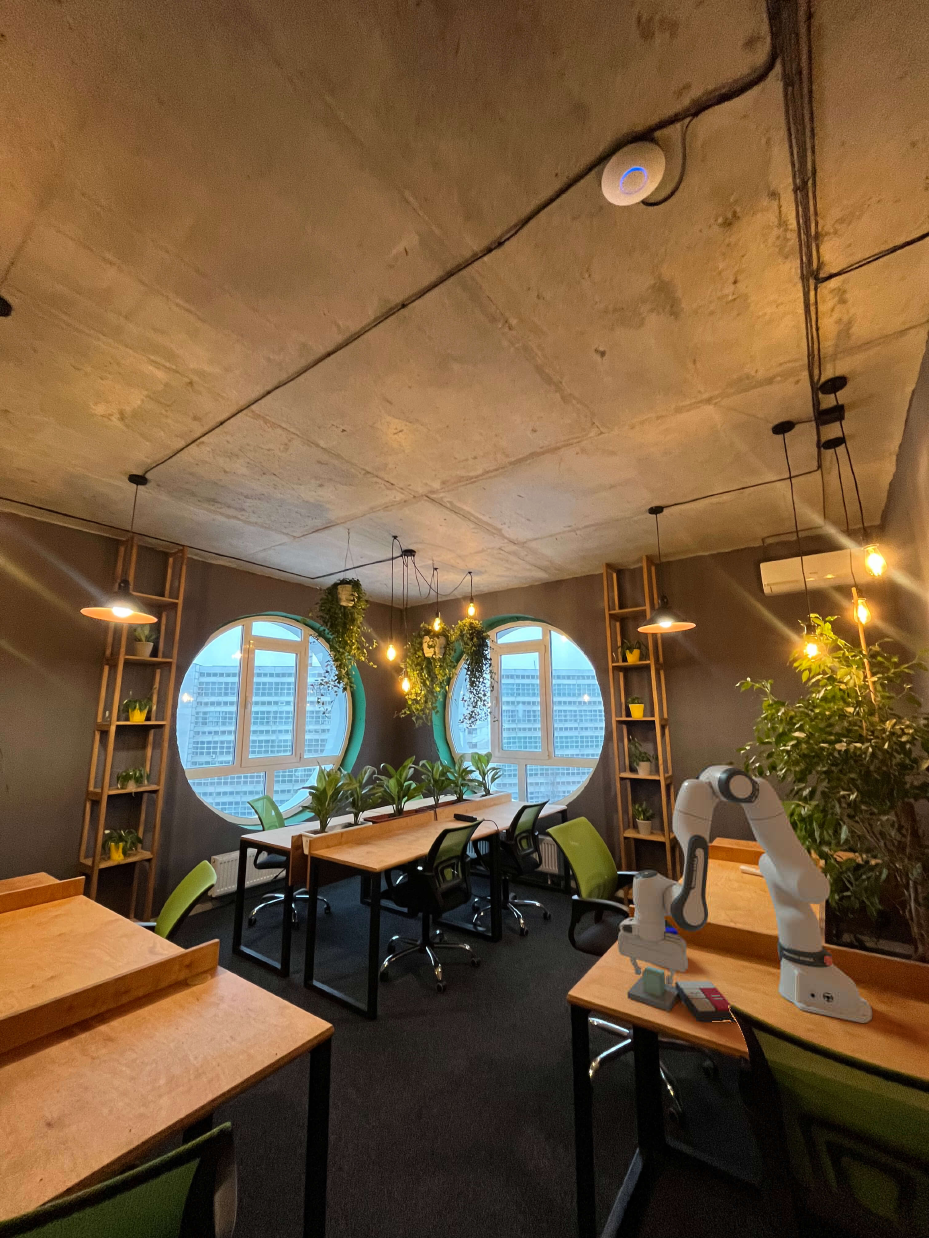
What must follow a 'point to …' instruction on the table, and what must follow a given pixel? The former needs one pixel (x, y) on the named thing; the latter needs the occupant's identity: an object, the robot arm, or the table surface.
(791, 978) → the robot arm
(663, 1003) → the slate coaster
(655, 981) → the teal cube
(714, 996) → the calculator
